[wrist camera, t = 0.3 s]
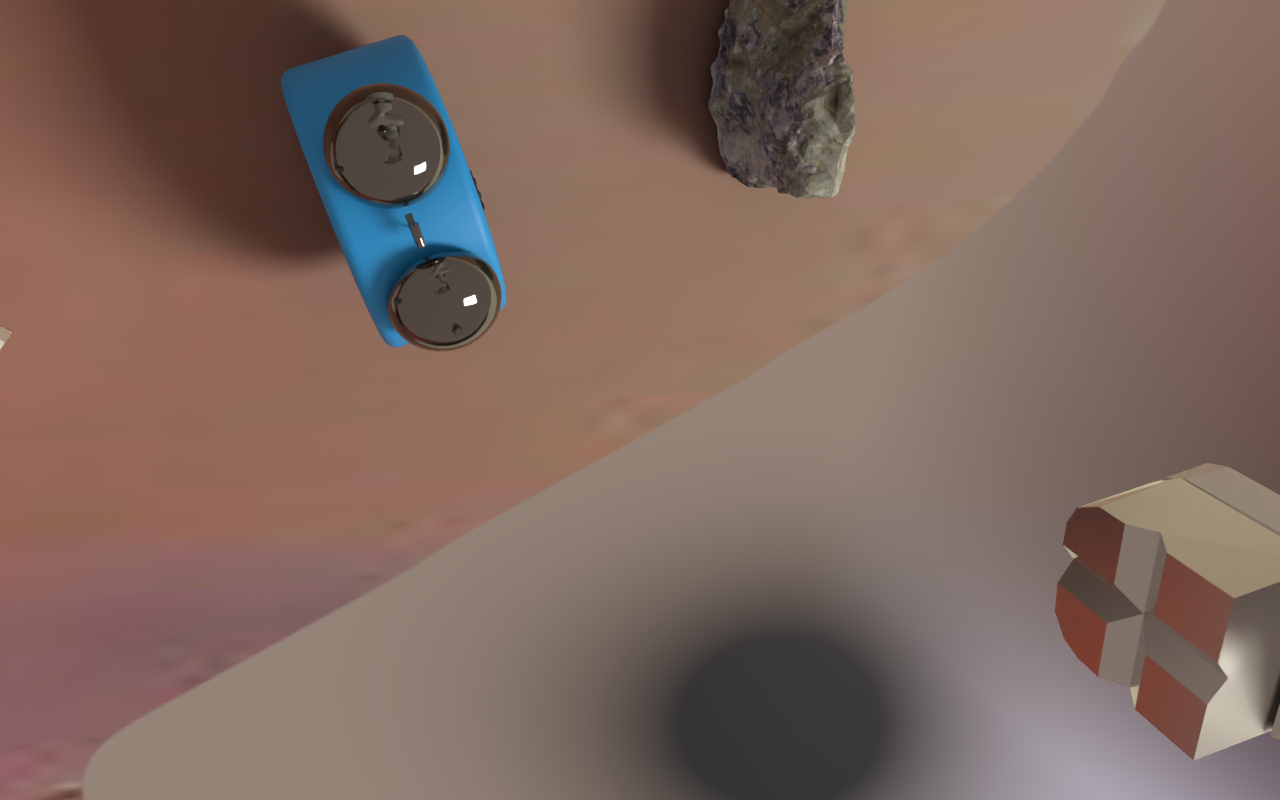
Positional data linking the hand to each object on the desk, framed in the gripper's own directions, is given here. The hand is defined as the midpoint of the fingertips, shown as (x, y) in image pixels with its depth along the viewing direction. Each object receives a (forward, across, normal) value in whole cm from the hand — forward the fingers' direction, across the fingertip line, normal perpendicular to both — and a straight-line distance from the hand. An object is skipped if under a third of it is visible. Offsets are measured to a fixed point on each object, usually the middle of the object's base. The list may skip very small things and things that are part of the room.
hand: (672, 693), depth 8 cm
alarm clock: (+48, -3, +7) cm, 48 cm away
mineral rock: (+47, -25, +4) cm, 53 cm away
